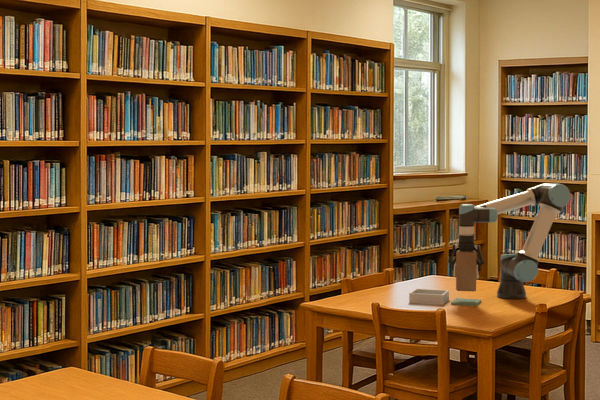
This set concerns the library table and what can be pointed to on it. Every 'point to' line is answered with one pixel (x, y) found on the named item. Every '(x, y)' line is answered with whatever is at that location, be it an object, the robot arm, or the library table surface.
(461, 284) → the block
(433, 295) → the bin
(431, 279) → the library table surface
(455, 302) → the mat
